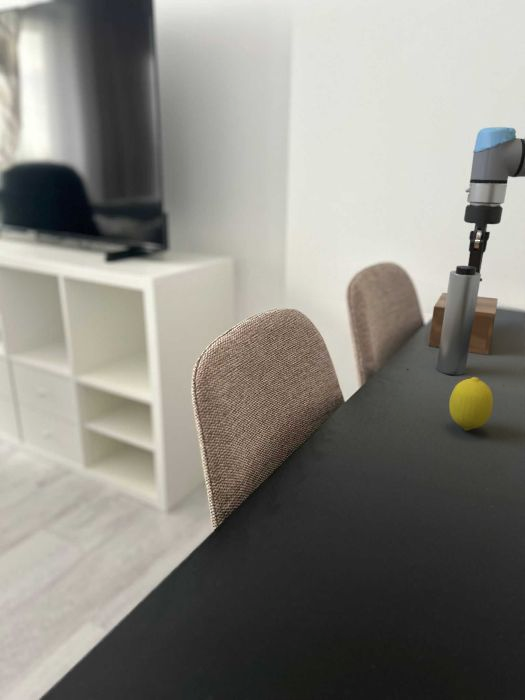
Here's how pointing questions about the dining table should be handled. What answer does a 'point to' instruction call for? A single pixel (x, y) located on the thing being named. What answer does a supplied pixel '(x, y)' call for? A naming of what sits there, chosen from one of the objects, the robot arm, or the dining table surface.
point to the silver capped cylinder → (458, 320)
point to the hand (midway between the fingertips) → (467, 309)
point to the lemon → (471, 403)
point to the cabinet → (480, 324)
